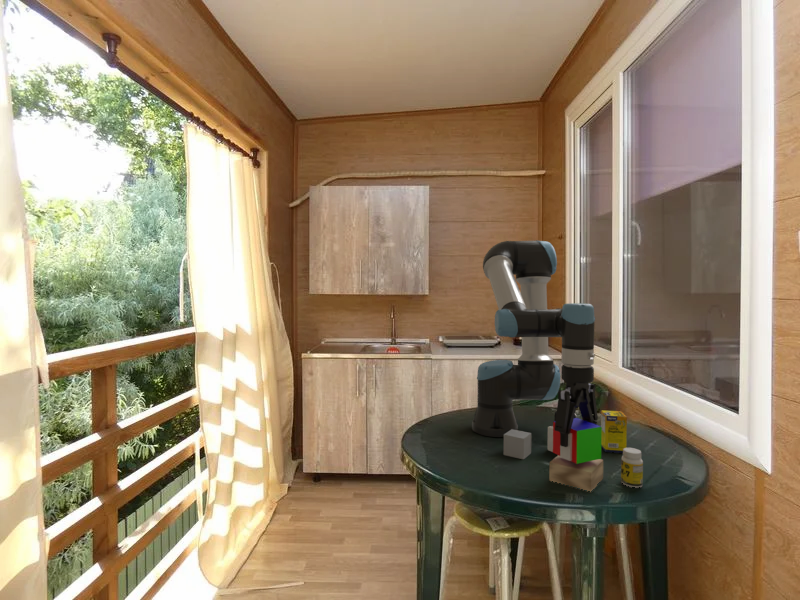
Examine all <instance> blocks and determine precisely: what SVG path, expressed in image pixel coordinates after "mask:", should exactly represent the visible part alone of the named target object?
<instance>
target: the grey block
mask: <svg viewBox="0 0 800 600" xmlns="http://www.w3.org/2000/svg"><path fill="white" fill-rule="evenodd" d="M531 454H532V432H527V431H523V430H513V429H511V430H510V431H508V432H507V433H505V434H504V437H503V456H507V457H511V458H516V459H521V460H525V459H526V458H527V457H528V456H530V455H531Z"/></svg>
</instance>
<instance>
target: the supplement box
mask: <svg viewBox="0 0 800 600" xmlns="http://www.w3.org/2000/svg"><path fill="white" fill-rule="evenodd" d="M627 424H628V416H627V415H625V413H624V412H623V411H621V410H620V411H618V410H601V411H600V426H601V427H602V438H601V449H602V450H603V451H604V452H605V453H612V452H614V453H615V454H623V449H624V448H628V447H627V443H628V441H627V439H628V437H627V435H628V434H627V431H628V426H627Z"/></svg>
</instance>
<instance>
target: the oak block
mask: <svg viewBox="0 0 800 600" xmlns="http://www.w3.org/2000/svg"><path fill="white" fill-rule="evenodd" d="M548 471H549V474H548V475H549V477H548V478H549V479H548V481H550V482H552V481H553V482H552V483H555V482H557V483H556V484H559V483H561V484H560V485H563V484H565V485H564V486H566V485H569V486H568V487H570V486H573V487H577V488H580V489H579V490H581V489H583V490H582V491H584V490H587V491H586V492H588V491H590V492H589V493H592V492H593V491H594V490H595V488H596V487H597V486H598V485H599V484H600V483H599V482H602V480H603V479H604V459H602V458H601V459H597V460H593V461H588V462H583V463H578V464H576V463H574V462H572V461H569V460H566V459H563V458H560V456H559V455H557V456H555V457H554V458H553V459H552V460H551V461H549V469H548ZM598 483H599V484H598ZM597 484H598V485H597ZM573 487H572V488H573ZM577 488H576V489H577ZM593 489H594V490H593ZM592 490H593V491H592ZM591 491H592V492H591Z"/></svg>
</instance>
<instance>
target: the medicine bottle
mask: <svg viewBox="0 0 800 600" xmlns="http://www.w3.org/2000/svg"><path fill="white" fill-rule="evenodd" d="M556 413H557V410H556V411H555V412H554V417H553V418H554V419H553V420H554V421H556ZM574 418H577V414H576V413H575V415H574ZM554 421H553V422H554ZM547 451H548V452H551V453H553V425H550V426H547Z"/></svg>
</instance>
